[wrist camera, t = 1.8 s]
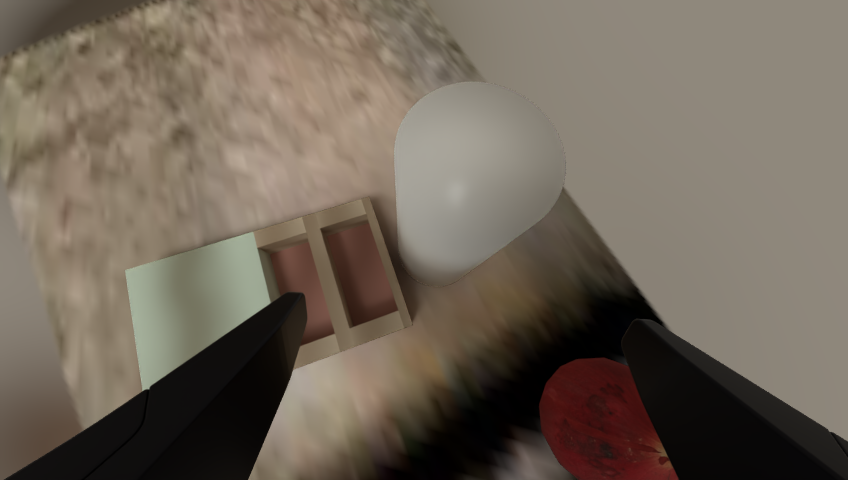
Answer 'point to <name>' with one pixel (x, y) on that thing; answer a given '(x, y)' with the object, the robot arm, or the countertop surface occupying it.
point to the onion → (601, 424)
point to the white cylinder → (471, 177)
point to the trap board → (270, 288)
